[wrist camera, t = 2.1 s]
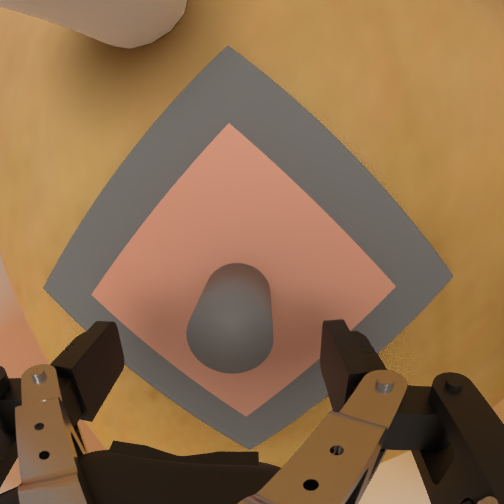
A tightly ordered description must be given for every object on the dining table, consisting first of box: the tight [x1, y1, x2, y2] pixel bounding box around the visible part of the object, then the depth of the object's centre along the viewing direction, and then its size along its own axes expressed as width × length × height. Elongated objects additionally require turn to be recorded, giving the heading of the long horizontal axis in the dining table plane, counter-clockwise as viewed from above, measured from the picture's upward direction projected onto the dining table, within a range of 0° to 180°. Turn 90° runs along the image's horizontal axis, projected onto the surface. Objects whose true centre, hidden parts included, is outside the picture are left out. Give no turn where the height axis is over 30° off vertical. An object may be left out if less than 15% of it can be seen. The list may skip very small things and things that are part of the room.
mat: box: [44, 46, 453, 450], centre depth 19 cm, size 20×20×1 cm
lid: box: [91, 123, 396, 416], centre depth 16 cm, size 13×13×6 cm
